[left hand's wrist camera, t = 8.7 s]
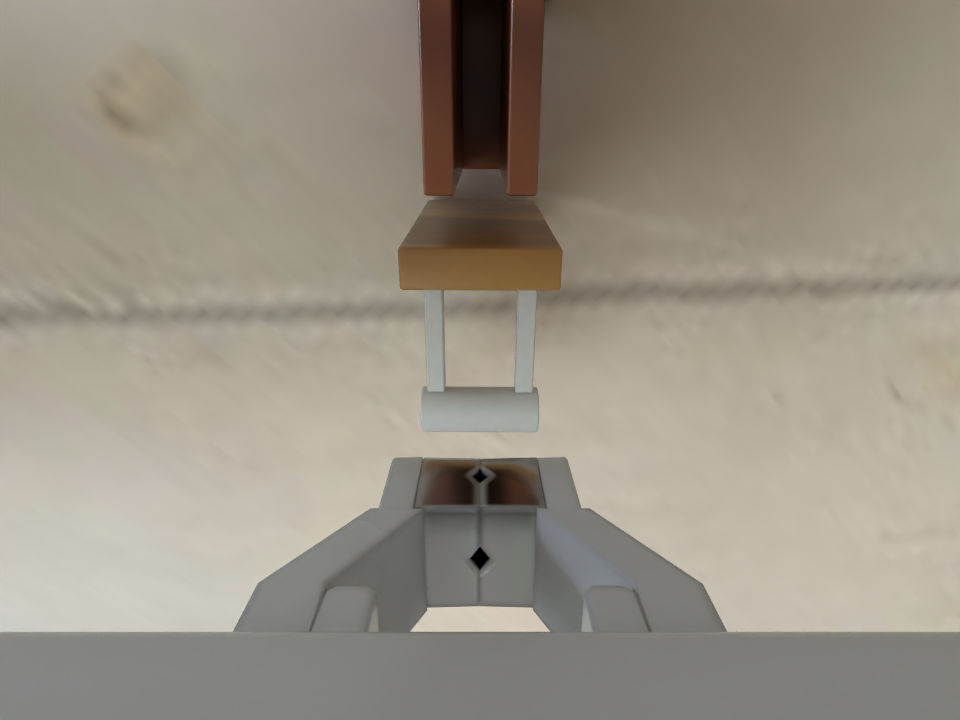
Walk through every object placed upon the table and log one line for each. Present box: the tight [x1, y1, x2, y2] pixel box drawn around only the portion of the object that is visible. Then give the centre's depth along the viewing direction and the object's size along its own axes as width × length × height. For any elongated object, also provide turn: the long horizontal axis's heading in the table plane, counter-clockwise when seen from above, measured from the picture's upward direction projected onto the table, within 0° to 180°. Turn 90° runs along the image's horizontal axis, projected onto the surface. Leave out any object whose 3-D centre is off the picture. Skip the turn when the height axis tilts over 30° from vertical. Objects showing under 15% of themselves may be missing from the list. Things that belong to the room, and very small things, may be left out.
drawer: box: [398, 0, 562, 432], centre depth 18 cm, size 22×4×9 cm, turn 0°
